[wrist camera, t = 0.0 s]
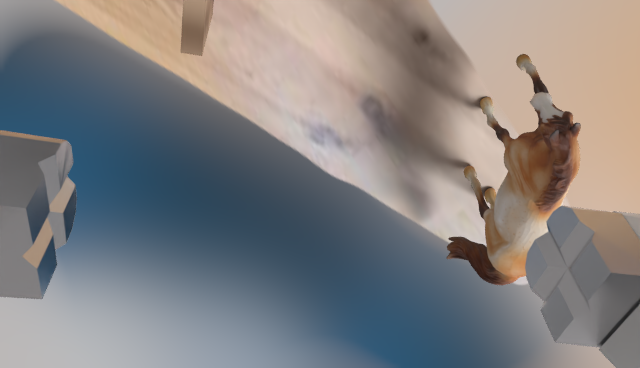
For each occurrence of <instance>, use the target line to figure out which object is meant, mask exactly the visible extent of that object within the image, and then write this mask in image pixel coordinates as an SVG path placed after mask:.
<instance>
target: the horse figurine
mask: <svg viewBox="0 0 640 368" xmlns="http://www.w3.org/2000/svg"><path fill="white" fill-rule="evenodd" d="M516 63H517V66H518V67H519V68H520V69H521V70H526V72H527V73H528V74H529V75H530V76H531V78H532V80H533V84H534V92H535V94H534V96H533V98H532V100H531V101H530V103H531V104H532V106H533V107H534V109H535V111H536V112H537V114H538V118H539V123H538V124H539V126H538V128H537V129H536V130H535V131H534V132H527V133H523V134H521V135H520V136H519V137H518V138H517V139H512V138H511V137H510V136H509V132H508V131H507V130H506V129H504V128H502V127H501V126H500V125H499V124H498V122H497V121H496V119H495V118H494V116H493V111H494V108H493V105H492V100H491V98H489V97H485V98H483V99H482V100H481V101H480V106H481V109H482V110H483V113H484V114H486V115H487V124H488V125H489V126H490V127H492V128H493V129H494V130H495V131H496V135H497V138H498V139H499V140H501V141H502V142H503V143H504V146H505V153H504V164H505V167H506V168H507V170H508V173H507V175H506V177H505V179H504V181H503V183H502V184H501V186H500V188H499V190H498V192H497V195H496V192H495V190H494V189H493V188H489V189H487V190H486V191H485V199H486V201H487V202H489V203H490V204H491V209H489V207H488V206H487V204H486V202H485V200H484V197H483V193H482V190H481V185H480V182H479V180H478V179H477V178H476V177H477V174H476V172H475V169H474V167H472V166H470V165H469V166H467V167H466V168H465V169H464V175H465V177H466V178H467V179H468V180H469V181H471V186H472V188H473V190H474V191H475V194H476V197H477V200H478V204H479V211H480V215H481V217H482V218H483V219H484V220H485V223H486V224H485V235H486V243H487V247H486V246H485V245H483V244H478V243H475V242H472V241H470V240H468V239H466V238H464V237H450V238H449V240H451V241H454V242H451V243H450V244H449V245H448V246H447V249H448V250H449V251H450V254H449V255H448V256H447V259H452V258H459V259H464V260H468V261H469V262H470V264H471V266H472V267H473V268H474V269H475V271H476V272H477V273H478V275H479V276H480V277H481V278H482V279H483V280H485V281H486V282H489V283H492V284H495V285H505V284H510V283H512V282H514V281H516V280H517V279H518V278H519V277H523V276H526V270H525V264H526V258H527V252H528V251H529V249H530V247H531V246H532V244H533V242H534V240H535V239H537V238H538V237H540V236H542V235H544V234H545V233H547V232H548V228H547V223H546V221H547V220H548V218H549V217H550V215H551V214H552V212H553V211H554V210H556V209H557V208H559V207H560V206H563V199H564V197H565V196H566V194H567V192H568V190H569V187H570V184H571V182H572V181H573V179H574V178H575V176H576V175H577V173H578V170H579V166H580V150H579V144H578V141H577V136H578V134H579V131H580V128H581V125H580V123H575V124H573V121H572V120H573V115H572V113H570V112H567V111H565V112H563V111H561V110H559V109H558V108H556V107H555V105H554V104H553V103H552V98H551V95H550V94H549V93H548V90H547V88H546V86H545V85H544V84H543V83H542V81H541V80H540V77H539V75H538V73H537V70H536V67H535V66H534V65H533V64H532V63H531V60H530V58H529V56H528V55H526V54H522V55H520V56H518V58H517V61H516Z"/></svg>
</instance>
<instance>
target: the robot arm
mask: <svg viewBox="0 0 640 368" xmlns="http://www.w3.org/2000/svg"><path fill="white" fill-rule="evenodd" d="M72 165H73V156H72V149H71V145H70V144H69V143H68V141H67V140H61V139H54V138H47V137H40V136H34V135H27V134H21V133H15V132H8V131H1V130H0V297H14V298H31V299H42V298H43V296H44V294H45V291H46V289H47V287H48V285H49V282H50V280H51V278H52V275H53V273H54V271H55V268H56V266H57V260H56V252H55V250H56V249H58V248H59V247H61V246H62V245H64V244H66V242H67V240H68V238H69V235H70V233H71V230H72V227H73V222H74V217H75V213H76V186H75V184H74V183H73V182H72V181H71V180H70V179H69V178H68V177H67V175H68V173H69V171H70V169H71V167H72ZM546 223H547V228H548V232H547V233H545V234H544V235H542V236H540V237H538V238H537V239H535V240H534V242H533V244H532V246H531V247H530V249H529V251H528V252H527V258H526V264H525V270H526V277H527V280H528V283H529V285H530V288H531V290H532V291H533V292H534V293H535V294H537V295H538V296H539V297H540V298H541V299H542V300H543V301H544V303H543V305H542V308H541V312H542V315H543V317H544V319H545V321H546V324H547V326H548V328H549V330H550V332H551V335H552V337H553V339H554V341H555V342H556V343H566V344H574V345H583V346H592V347H600V349H599V350H600V351H601V352H602V353H603V354H604V356H605V357H606V358H607V359H608V360H609V361H610V362H611V363H612V364H613V365H614V366H615V367H616V368H640V214H634V213H624V212H615V211H614V212H607V211H599V210H592V209H584V208H576V207H568V206H560V207H559V208H557V209H556V210H554V211H553V212H552V214H551V215H550V217H549V218H548V220H547V221H546Z"/></svg>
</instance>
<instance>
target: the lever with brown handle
mask: <svg viewBox="0 0 640 368" xmlns="http://www.w3.org/2000/svg"><path fill="white" fill-rule="evenodd" d="M213 2H214V0H183V17H182V37H181V53H187V54H193V55H199V56H202V54H203V50H204V46H205V42H206V38H207V34H208V30H209V26H210V22H211V18H212V14H213Z"/></svg>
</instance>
